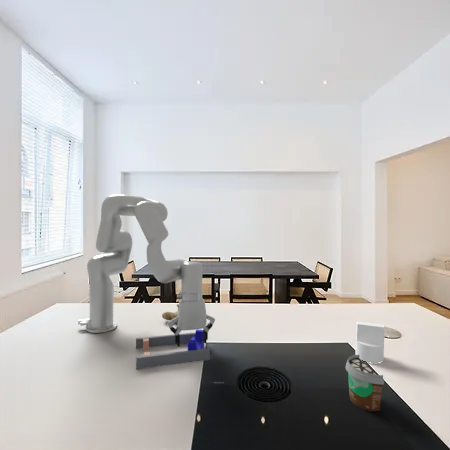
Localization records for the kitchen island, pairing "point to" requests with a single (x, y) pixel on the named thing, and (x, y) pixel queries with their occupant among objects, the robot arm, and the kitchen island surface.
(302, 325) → the kitchen island surface
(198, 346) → the cable clip
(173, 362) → the guide channel
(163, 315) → the ginger root
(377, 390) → the food container
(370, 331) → the cylinder with rectangular tab
